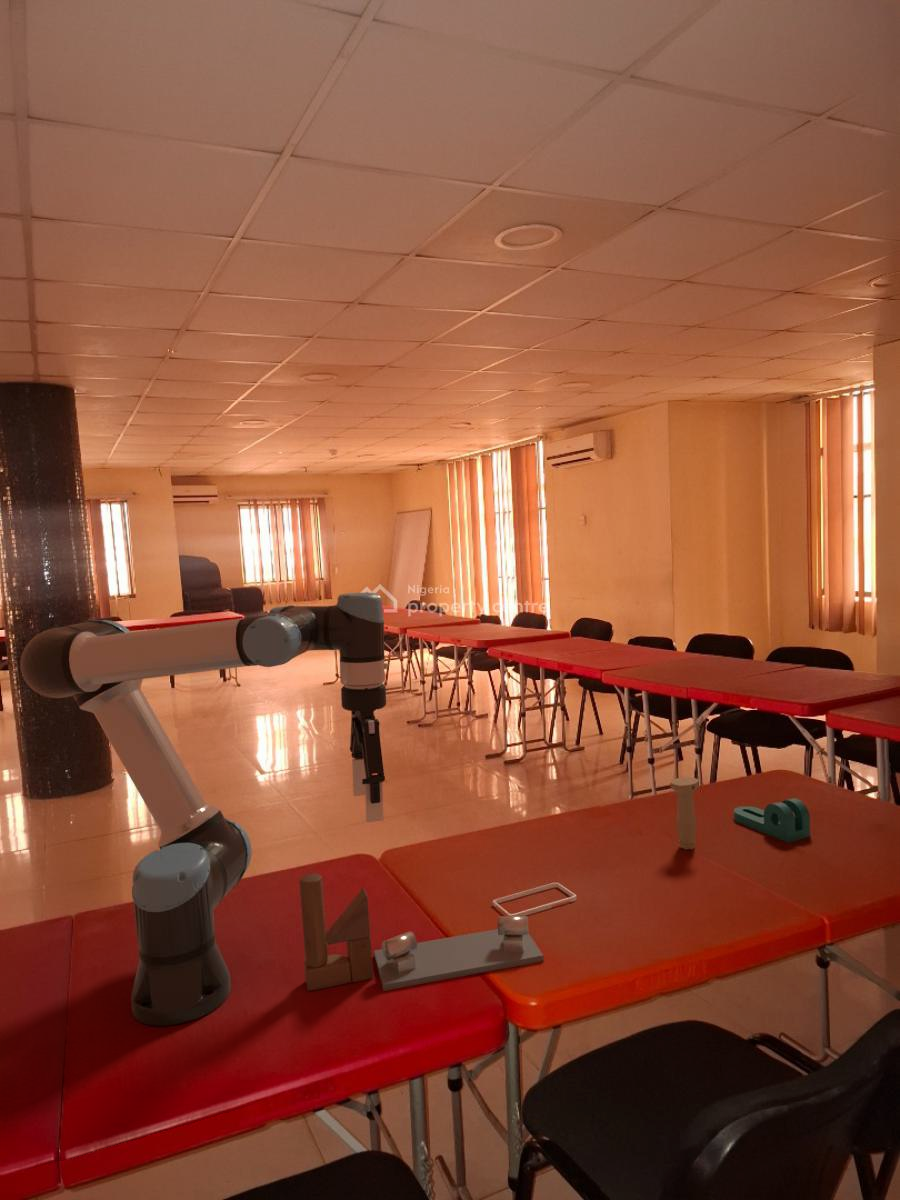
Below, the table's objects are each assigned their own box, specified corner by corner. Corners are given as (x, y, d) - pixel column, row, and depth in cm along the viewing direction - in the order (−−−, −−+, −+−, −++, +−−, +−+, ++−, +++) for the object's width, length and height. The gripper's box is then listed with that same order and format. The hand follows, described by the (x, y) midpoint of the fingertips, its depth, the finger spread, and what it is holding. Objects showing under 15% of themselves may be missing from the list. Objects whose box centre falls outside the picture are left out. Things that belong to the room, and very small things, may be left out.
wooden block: (373, 979, 128) (366, 873, 127) (307, 992, 126) (299, 884, 124) (370, 967, 132) (362, 864, 131) (305, 980, 129) (297, 875, 128)
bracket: (810, 837, 175) (809, 803, 175) (788, 843, 172) (787, 809, 172) (749, 813, 192) (748, 782, 191) (728, 819, 189) (727, 787, 188)
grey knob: (498, 952, 133) (497, 923, 132) (500, 938, 137) (498, 911, 136) (528, 952, 132) (526, 923, 131) (528, 938, 136) (527, 911, 136)
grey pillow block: (394, 976, 127) (391, 947, 127) (381, 965, 131) (379, 936, 130) (420, 966, 130) (418, 937, 129) (407, 955, 133) (405, 926, 133)
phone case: (557, 888, 158) (491, 906, 152) (556, 881, 158) (491, 900, 152) (577, 902, 152) (510, 922, 145) (577, 895, 152) (510, 915, 145)
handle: (705, 847, 173) (703, 780, 172) (685, 854, 170) (682, 787, 168) (689, 840, 177) (686, 775, 176) (668, 847, 174) (666, 781, 173)
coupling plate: (383, 990, 125) (382, 984, 125) (374, 955, 136) (374, 950, 136) (543, 961, 131) (543, 955, 131) (523, 929, 141) (522, 924, 141)
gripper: (400, 696, 121) (404, 830, 123) (372, 671, 145) (376, 783, 147) (352, 700, 119) (357, 836, 121) (331, 674, 143) (336, 787, 145)
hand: (367, 807), depth 134 cm, fingers open, 13 cm apart
